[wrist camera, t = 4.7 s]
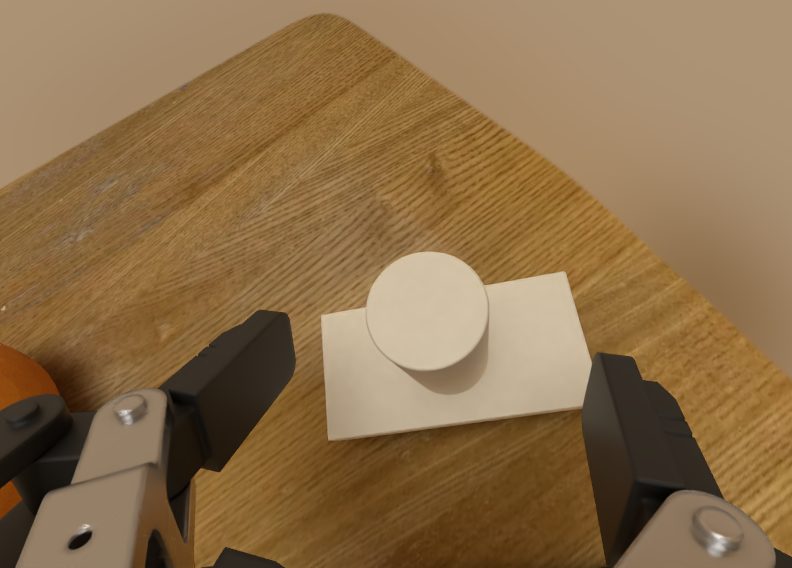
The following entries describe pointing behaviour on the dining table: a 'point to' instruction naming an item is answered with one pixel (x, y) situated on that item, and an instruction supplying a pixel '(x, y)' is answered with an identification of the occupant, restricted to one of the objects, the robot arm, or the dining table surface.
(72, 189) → the dining table surface
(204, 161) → the dining table surface
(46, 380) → the fruit
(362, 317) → the cream block with cylinder
